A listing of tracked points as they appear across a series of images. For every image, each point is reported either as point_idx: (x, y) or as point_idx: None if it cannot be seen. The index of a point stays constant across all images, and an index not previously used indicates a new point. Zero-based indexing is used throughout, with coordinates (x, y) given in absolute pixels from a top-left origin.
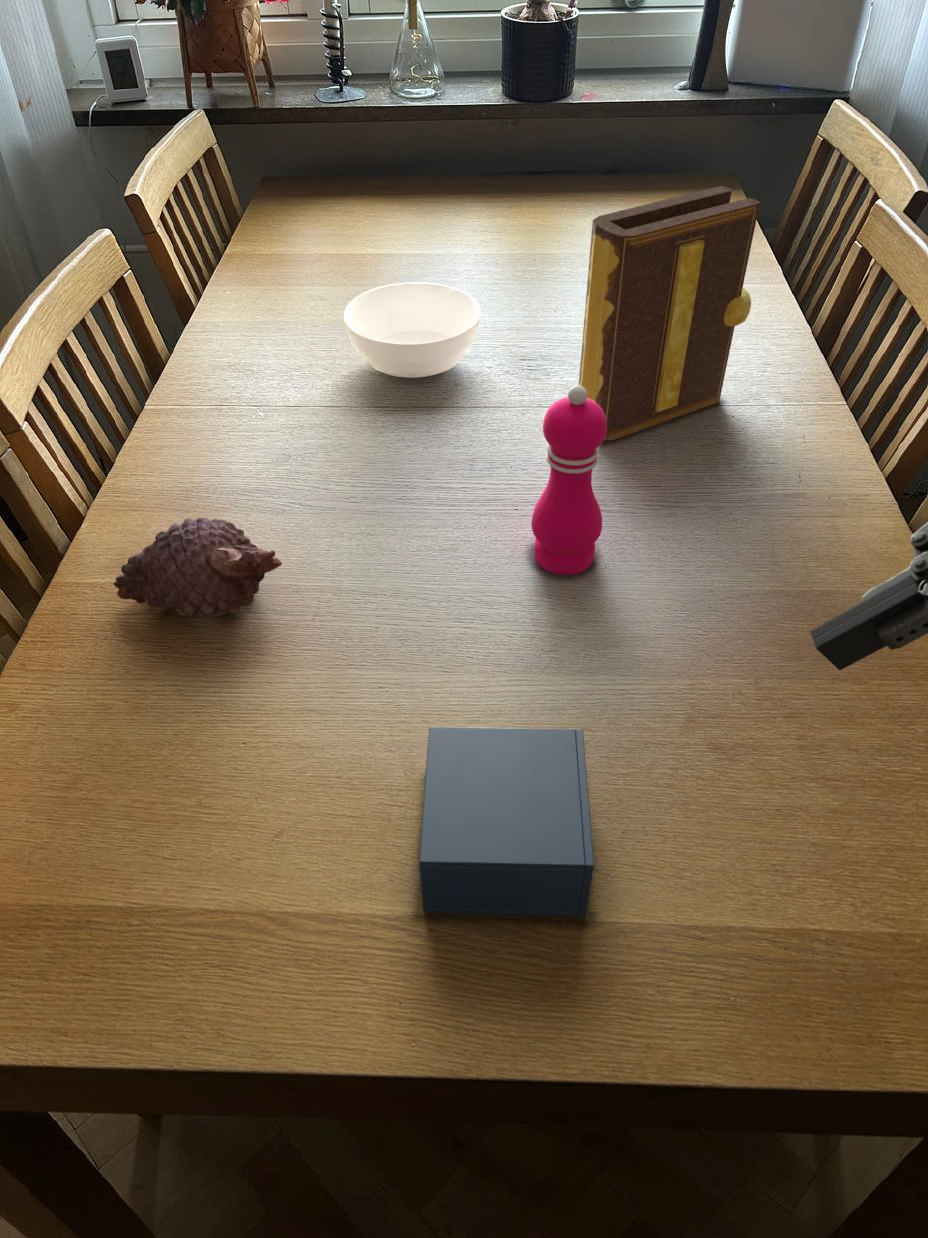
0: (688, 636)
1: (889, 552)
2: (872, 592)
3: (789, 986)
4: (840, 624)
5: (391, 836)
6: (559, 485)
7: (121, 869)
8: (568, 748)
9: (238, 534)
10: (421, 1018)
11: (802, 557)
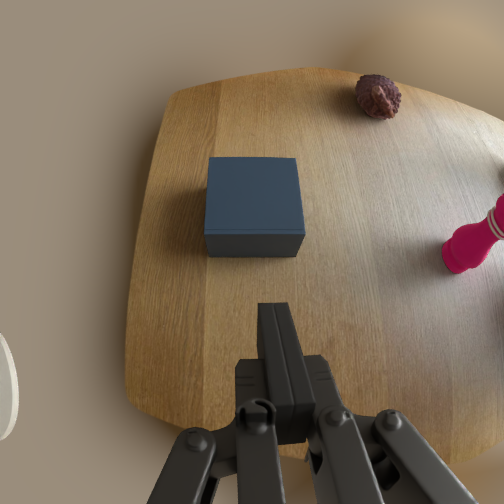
0: (414, 329)
1: (475, 446)
2: (321, 365)
3: (169, 357)
4: (277, 324)
5: None
6: (481, 223)
7: (234, 97)
8: (288, 224)
9: (395, 98)
10: (164, 189)
11: (473, 398)
